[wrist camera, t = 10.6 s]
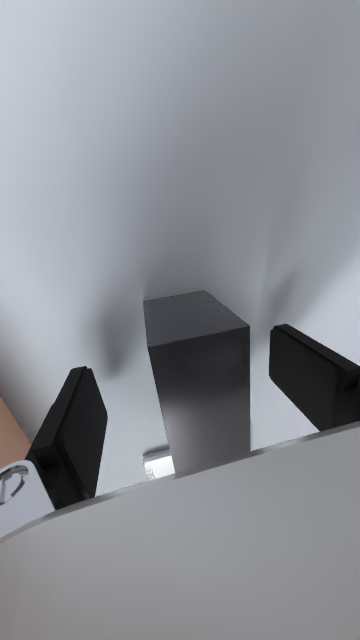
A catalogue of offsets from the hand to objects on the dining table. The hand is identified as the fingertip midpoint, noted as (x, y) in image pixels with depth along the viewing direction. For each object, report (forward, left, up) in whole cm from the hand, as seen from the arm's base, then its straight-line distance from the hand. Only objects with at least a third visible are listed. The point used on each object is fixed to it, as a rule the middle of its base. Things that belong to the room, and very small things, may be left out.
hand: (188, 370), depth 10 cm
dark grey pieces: (-6, 0, -1) cm, 6 cm away
